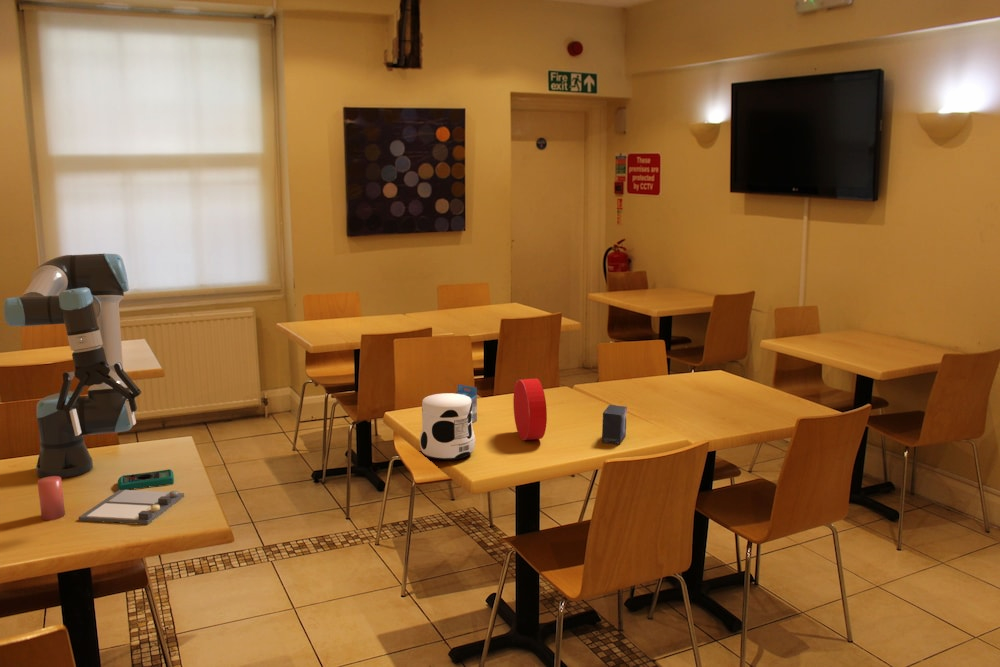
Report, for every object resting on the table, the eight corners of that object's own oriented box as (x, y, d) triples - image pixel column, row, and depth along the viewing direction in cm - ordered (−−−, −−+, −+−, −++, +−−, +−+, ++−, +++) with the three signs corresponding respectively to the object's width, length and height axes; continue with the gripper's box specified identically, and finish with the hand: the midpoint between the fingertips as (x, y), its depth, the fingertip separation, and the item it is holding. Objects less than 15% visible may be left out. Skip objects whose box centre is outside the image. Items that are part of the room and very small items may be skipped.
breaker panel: (119, 493, 243) (119, 484, 243) (184, 496, 241) (183, 487, 240) (78, 520, 225) (77, 511, 224) (148, 524, 222) (147, 515, 222)
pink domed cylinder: (50, 511, 231) (46, 475, 229) (69, 512, 230) (65, 476, 228) (36, 519, 225) (32, 483, 223) (56, 520, 225) (52, 484, 223)
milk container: (428, 444, 284) (427, 391, 280) (480, 447, 281) (480, 393, 277) (413, 462, 267) (411, 405, 264) (467, 466, 264) (467, 408, 260)
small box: (620, 445, 282) (621, 414, 280) (601, 443, 285) (601, 412, 282) (627, 435, 292) (627, 405, 290) (607, 434, 294) (608, 404, 292)
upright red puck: (546, 446, 281) (547, 386, 277) (529, 448, 280) (529, 388, 276) (529, 428, 300) (530, 372, 296) (513, 429, 299) (513, 373, 295)
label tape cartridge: (451, 419, 311) (450, 386, 308) (457, 417, 314) (457, 383, 312) (471, 423, 306) (470, 389, 303) (477, 421, 309) (477, 387, 307)
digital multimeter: (118, 484, 251) (117, 474, 250) (173, 477, 257) (172, 467, 256) (118, 493, 244) (117, 483, 244) (174, 485, 250) (173, 476, 249)
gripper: (30, 360, 215) (50, 442, 218) (134, 342, 219) (152, 423, 222) (40, 355, 222) (60, 435, 226) (141, 338, 226) (159, 416, 229)
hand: (106, 429), depth 224 cm, fingers open, 13 cm apart
